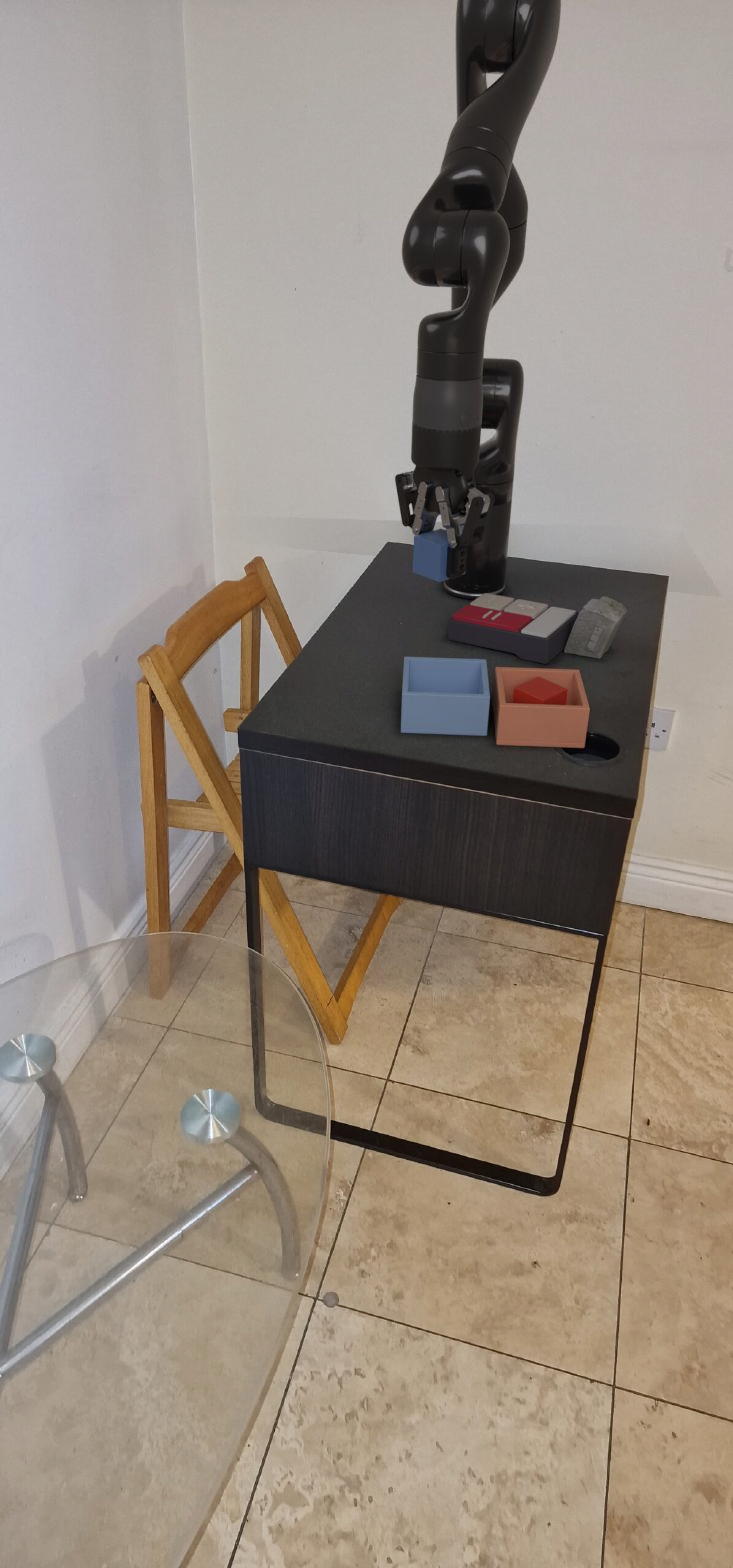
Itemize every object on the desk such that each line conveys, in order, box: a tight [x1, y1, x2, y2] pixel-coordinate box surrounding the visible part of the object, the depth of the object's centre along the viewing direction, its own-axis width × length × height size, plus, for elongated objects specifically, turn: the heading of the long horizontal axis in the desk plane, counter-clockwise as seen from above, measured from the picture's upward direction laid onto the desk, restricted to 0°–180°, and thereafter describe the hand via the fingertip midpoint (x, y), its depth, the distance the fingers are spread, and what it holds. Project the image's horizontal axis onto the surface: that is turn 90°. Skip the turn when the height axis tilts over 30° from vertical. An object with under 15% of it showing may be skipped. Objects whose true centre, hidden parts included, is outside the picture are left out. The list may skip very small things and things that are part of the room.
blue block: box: [412, 528, 466, 583], centre depth 118 cm, size 4×4×4 cm
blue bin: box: [400, 656, 491, 737], centre depth 121 cm, size 10×10×5 cm
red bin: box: [491, 666, 591, 749], centre depth 119 cm, size 10×10×5 cm
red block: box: [513, 677, 568, 705], centre depth 119 cm, size 4×4×4 cm
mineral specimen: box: [563, 596, 628, 660], centre depth 136 cm, size 7×9×8 cm
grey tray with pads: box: [447, 593, 579, 665], centre depth 141 cm, size 11×4×15 cm
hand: (439, 570), depth 119 cm, fingers closed on blue block, 4 cm apart
